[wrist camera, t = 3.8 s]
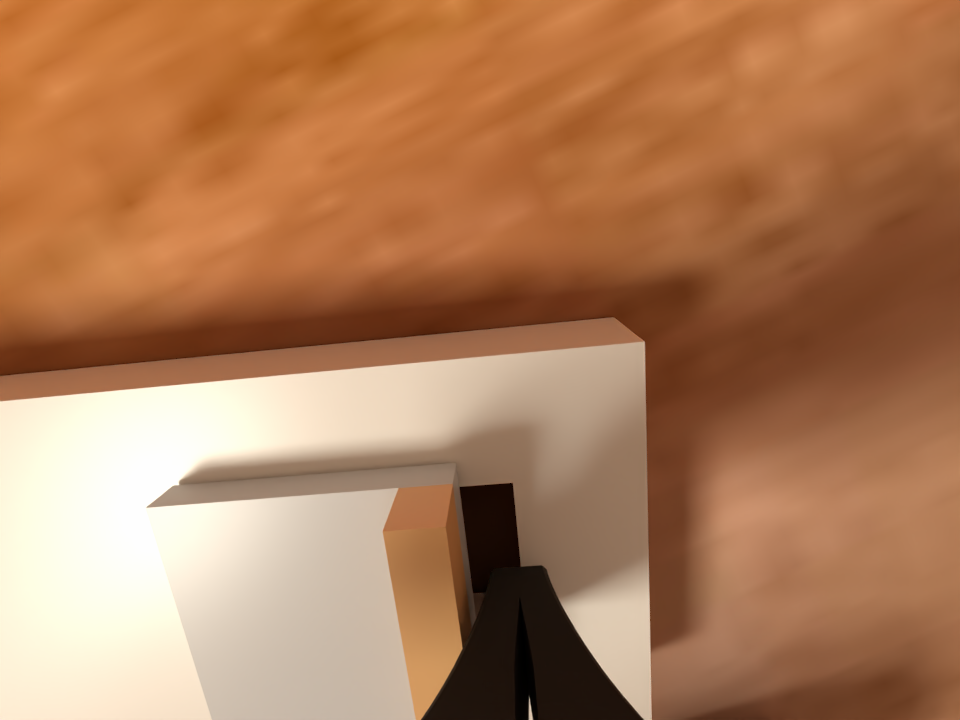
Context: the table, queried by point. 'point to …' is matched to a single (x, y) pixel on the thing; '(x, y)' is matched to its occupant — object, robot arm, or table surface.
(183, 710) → the socket plate
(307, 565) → the shutter
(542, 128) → the table surface
